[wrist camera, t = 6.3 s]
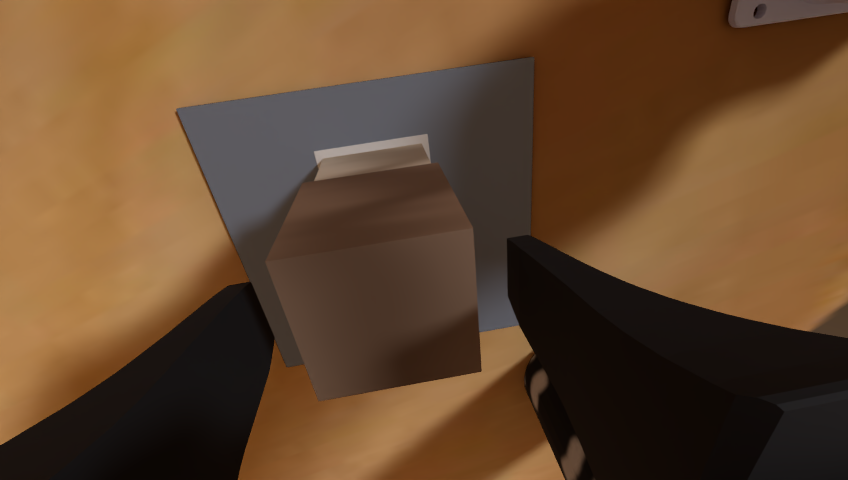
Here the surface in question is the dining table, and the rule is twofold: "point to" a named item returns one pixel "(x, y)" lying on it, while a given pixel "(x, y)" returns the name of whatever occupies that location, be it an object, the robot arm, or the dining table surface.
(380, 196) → the walnut block
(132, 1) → the dining table surface
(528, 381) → the spotted tube
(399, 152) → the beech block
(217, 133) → the mat
